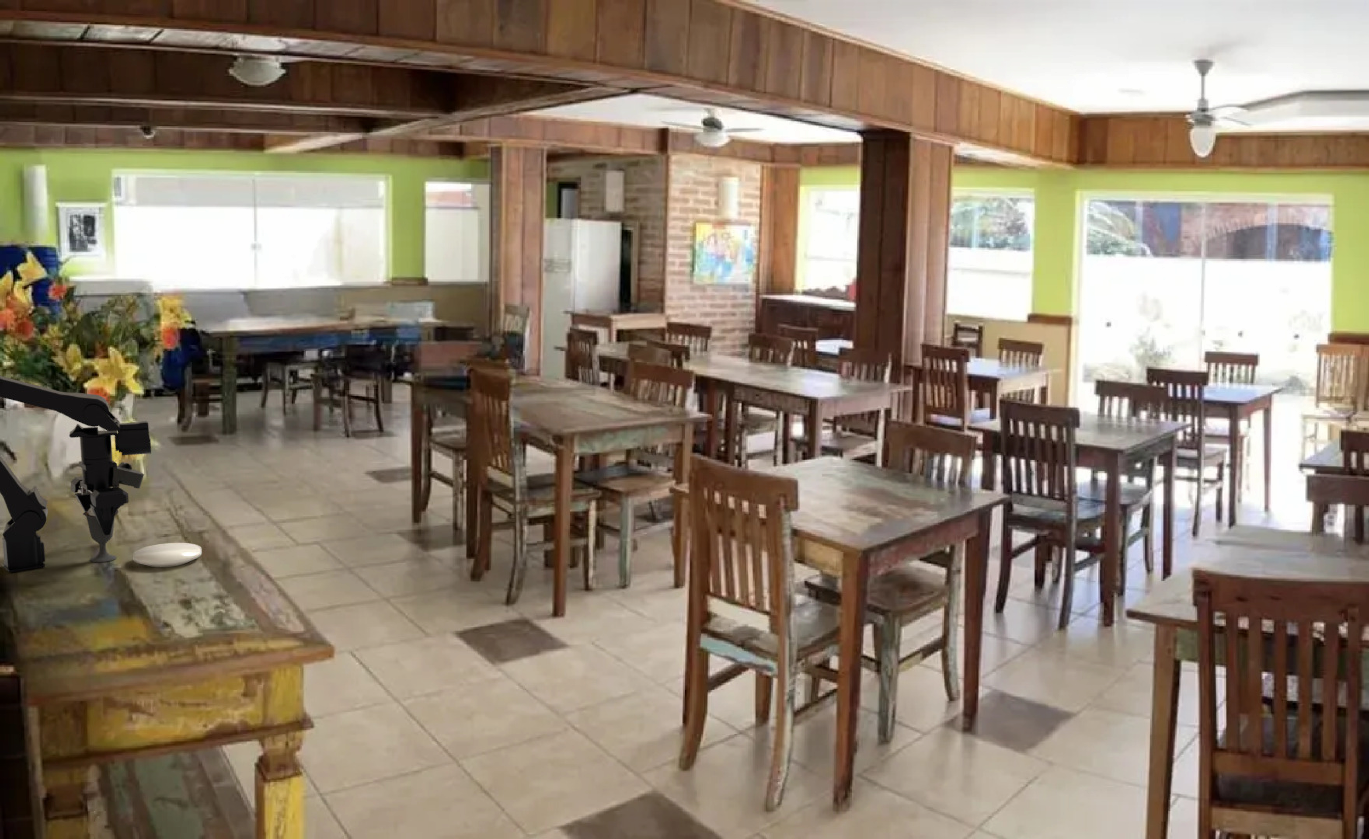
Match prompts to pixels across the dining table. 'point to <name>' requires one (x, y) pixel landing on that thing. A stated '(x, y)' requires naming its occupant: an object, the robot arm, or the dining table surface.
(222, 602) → the dining table surface
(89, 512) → the sundae
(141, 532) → the dining table surface
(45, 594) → the dining table surface
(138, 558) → the stand
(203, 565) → the dining table surface
